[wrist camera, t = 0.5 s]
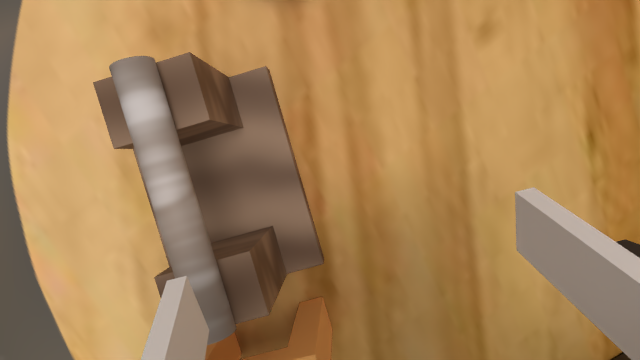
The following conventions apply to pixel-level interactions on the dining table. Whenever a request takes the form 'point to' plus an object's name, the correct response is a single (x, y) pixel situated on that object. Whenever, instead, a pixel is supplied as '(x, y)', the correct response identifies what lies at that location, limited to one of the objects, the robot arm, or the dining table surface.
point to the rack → (214, 180)
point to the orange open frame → (304, 344)
